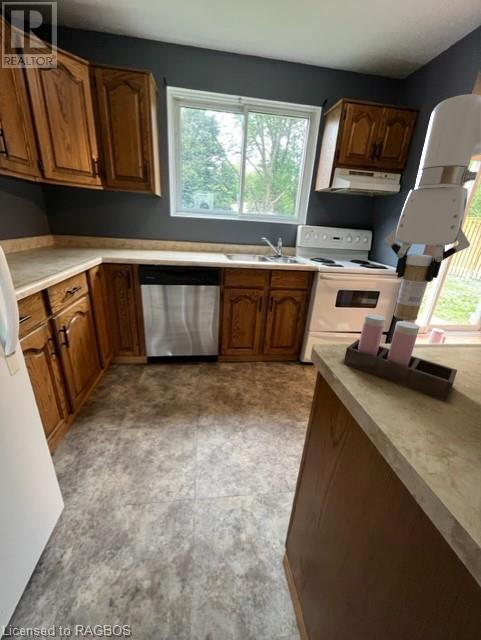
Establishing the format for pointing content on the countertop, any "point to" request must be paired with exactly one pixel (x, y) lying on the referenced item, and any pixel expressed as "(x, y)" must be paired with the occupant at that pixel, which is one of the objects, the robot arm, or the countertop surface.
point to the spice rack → (404, 371)
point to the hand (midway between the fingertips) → (414, 278)
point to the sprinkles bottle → (412, 286)
